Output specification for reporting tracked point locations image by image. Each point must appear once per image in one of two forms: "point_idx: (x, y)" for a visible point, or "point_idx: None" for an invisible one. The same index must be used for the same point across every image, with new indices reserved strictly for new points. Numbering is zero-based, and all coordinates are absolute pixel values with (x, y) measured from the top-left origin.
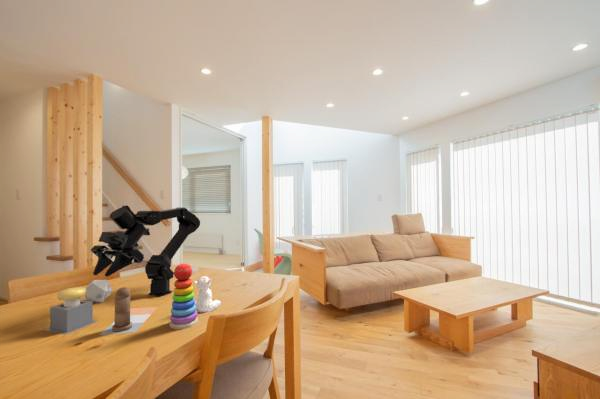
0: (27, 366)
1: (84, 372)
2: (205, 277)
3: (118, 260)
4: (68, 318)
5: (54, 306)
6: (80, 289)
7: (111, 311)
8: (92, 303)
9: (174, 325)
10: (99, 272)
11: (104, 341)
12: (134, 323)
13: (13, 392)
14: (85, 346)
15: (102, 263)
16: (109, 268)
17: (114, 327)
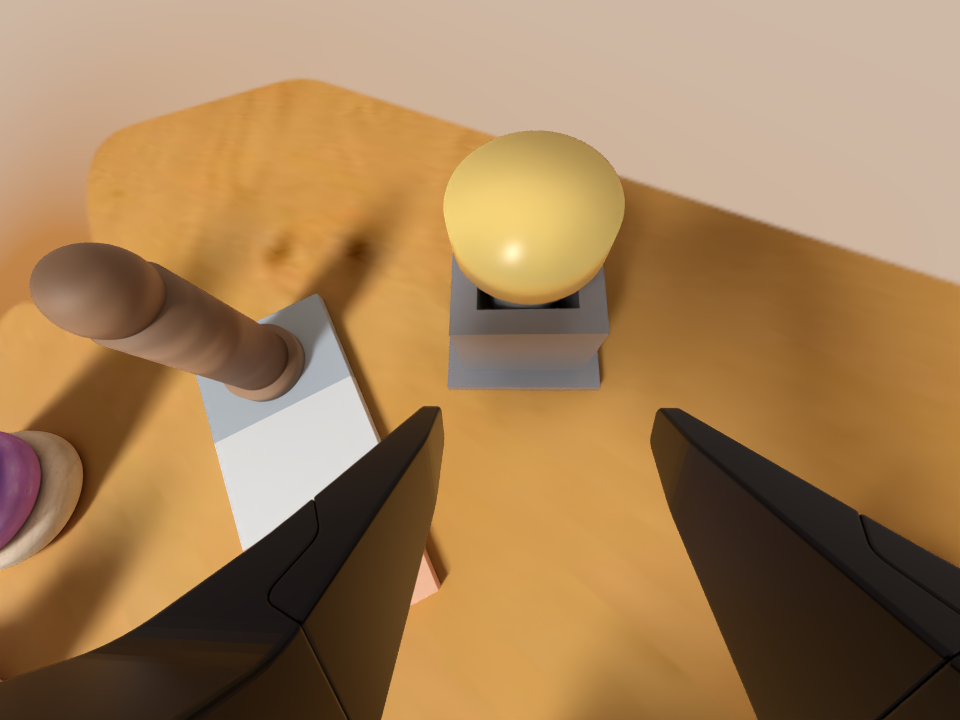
0: (373, 133)
1: (195, 164)
2: None
3: (144, 644)
4: None
5: None
6: (482, 227)
7: (545, 545)
8: (451, 337)
9: (22, 433)
10: (668, 497)
11: (278, 287)
12: (249, 420)
13: (289, 80)
14: (314, 245)
15: (810, 626)
16: (385, 456)
17: (272, 329)
